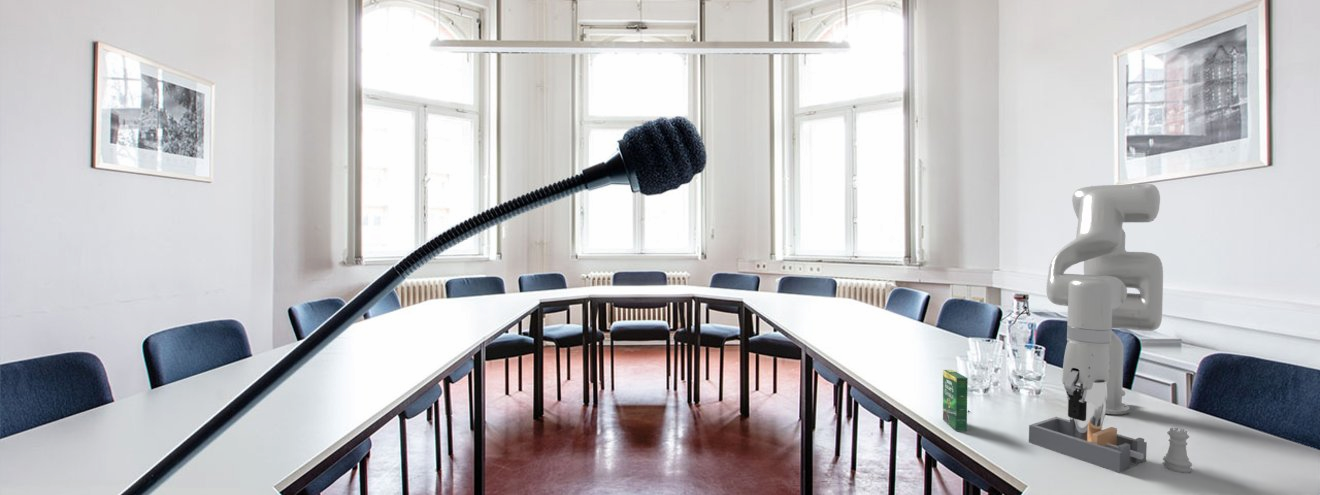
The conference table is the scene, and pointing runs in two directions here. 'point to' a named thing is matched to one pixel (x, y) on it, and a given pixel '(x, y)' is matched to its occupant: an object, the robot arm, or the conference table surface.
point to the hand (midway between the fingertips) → (1086, 415)
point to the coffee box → (955, 400)
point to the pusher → (1111, 441)
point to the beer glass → (1091, 412)
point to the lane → (1086, 445)
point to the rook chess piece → (1177, 452)
